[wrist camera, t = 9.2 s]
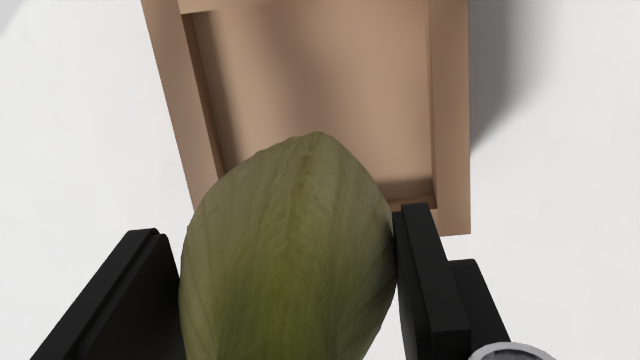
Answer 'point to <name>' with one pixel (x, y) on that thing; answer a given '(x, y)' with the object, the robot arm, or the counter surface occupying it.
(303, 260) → the fennel bulb
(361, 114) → the open walnut box
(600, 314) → the counter surface
